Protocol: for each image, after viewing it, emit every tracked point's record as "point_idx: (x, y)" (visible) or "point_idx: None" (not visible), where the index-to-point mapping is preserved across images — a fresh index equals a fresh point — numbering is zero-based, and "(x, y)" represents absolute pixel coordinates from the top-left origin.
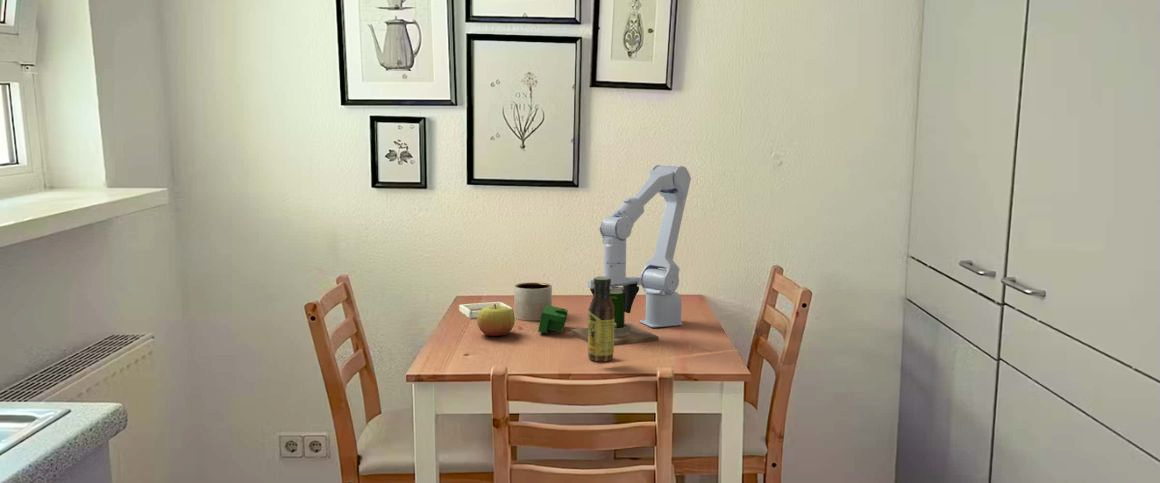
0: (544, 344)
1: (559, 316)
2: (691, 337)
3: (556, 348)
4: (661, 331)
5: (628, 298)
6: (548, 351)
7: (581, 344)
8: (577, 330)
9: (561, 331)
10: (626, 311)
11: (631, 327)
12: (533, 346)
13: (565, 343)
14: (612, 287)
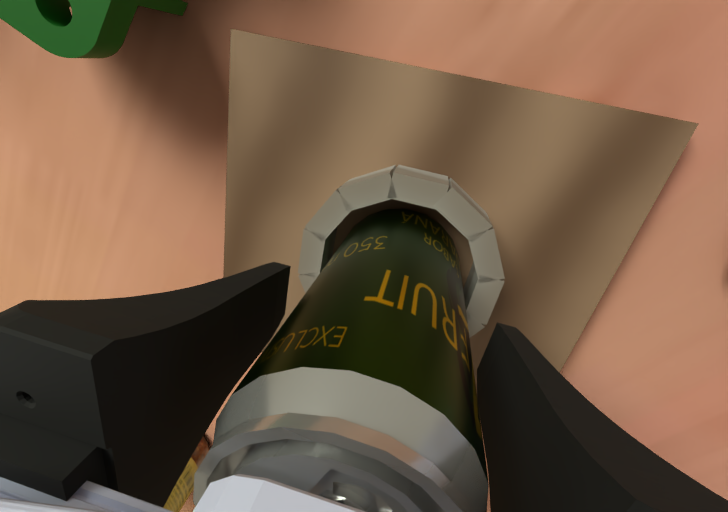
0: (56, 180)
1: (45, 49)
2: (701, 471)
3: (87, 262)
4: (723, 315)
5: (504, 472)
6: (52, 278)
7: (196, 272)
8: (252, 85)
9: (178, 14)
10: (487, 353)
11: (593, 215)
12: (10, 183)
13: (141, 219)
14: (353, 469)
